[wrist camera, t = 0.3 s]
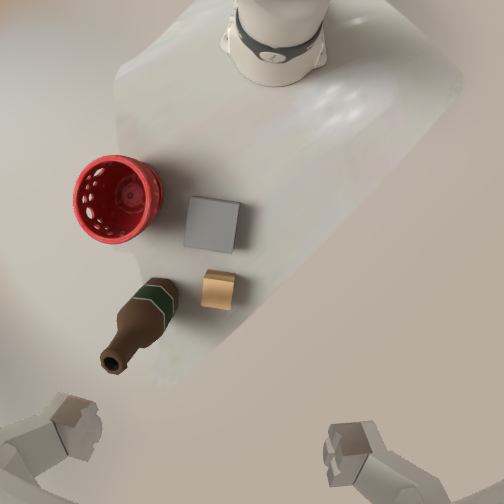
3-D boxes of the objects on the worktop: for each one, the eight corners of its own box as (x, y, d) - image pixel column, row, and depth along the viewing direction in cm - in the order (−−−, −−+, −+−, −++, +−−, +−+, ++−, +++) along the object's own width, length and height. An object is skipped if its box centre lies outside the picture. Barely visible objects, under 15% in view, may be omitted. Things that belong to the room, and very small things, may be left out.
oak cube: (207, 269, 56) (203, 278, 51) (235, 273, 56) (234, 282, 51) (204, 295, 57) (200, 305, 52) (231, 299, 57) (230, 310, 52)
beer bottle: (149, 268, 56) (90, 325, 33) (186, 287, 57) (148, 357, 33) (136, 302, 58) (79, 370, 34) (171, 320, 58) (131, 398, 35)
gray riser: (193, 196, 53) (189, 197, 49) (240, 202, 53) (239, 204, 49) (188, 241, 55) (183, 246, 51) (233, 248, 55) (232, 253, 51)
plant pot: (107, 232, 54) (75, 246, 43) (103, 161, 51) (69, 160, 40) (173, 230, 54) (152, 244, 43) (170, 155, 51) (148, 149, 40)
